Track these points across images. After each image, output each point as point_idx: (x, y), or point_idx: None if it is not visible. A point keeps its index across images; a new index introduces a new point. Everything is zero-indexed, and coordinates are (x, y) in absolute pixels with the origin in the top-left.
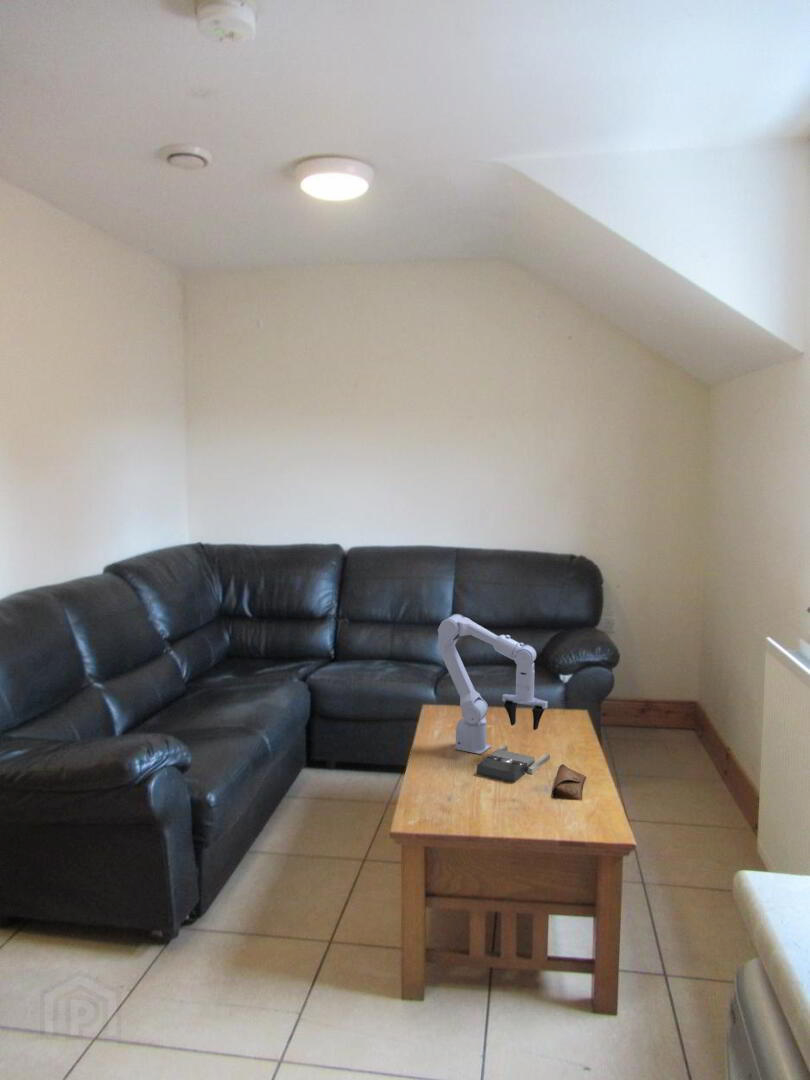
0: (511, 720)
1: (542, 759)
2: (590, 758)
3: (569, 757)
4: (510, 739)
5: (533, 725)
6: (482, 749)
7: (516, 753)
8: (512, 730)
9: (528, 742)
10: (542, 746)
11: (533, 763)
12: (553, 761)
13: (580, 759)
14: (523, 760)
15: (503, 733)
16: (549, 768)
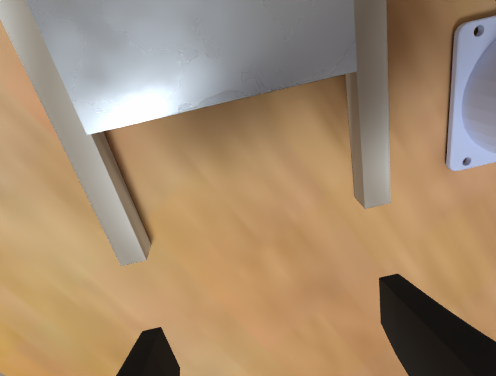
0: (420, 308)
1: (87, 182)
2: (19, 363)
3: (83, 318)
4: None
5: (142, 363)
6: (471, 78)
7: (216, 96)
8: None
9: (324, 322)
10: (252, 329)
11: None
12: (92, 238)
13: (35, 332)
14: (76, 3)
15: None
16: (25, 150)
